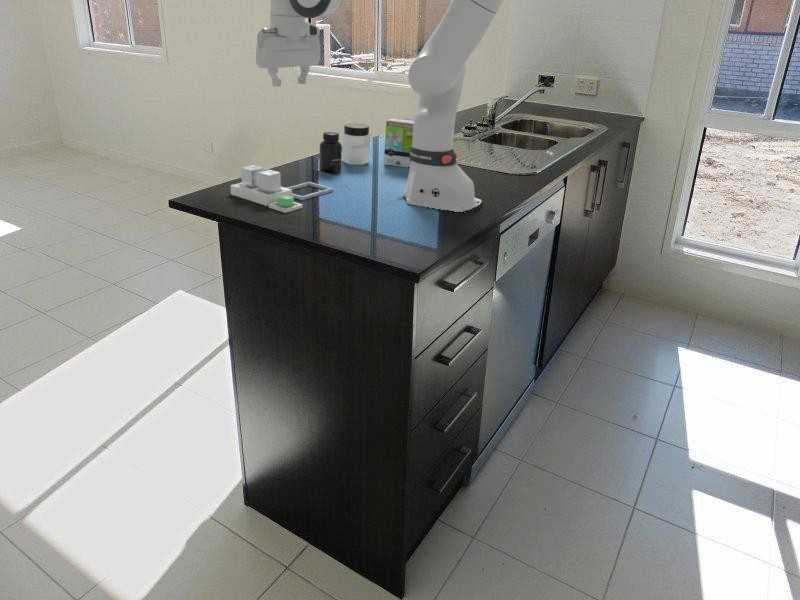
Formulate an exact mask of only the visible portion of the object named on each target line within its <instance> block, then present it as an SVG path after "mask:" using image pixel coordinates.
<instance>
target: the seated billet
mask: <svg viewBox="0 0 800 600" xmlns="http://www.w3.org/2000/svg"><path fill="white" fill-rule="evenodd" d="M262 171H264V167H261V166H257V165H254V164H252V165H247V166H242V167H240V177H241V183H242V186H243V187H247V188H250V189H255V188H259V182H258V172H262Z"/></svg>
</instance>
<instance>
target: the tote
mask: <svg viewBox="0 0 800 600" xmlns="http://www.w3.org/2000/svg"><path fill="white" fill-rule="evenodd" d="M308 186H310V187H315V188H318V189H321V190H319V191H316V192H312V193H309V194H305V195H299V194H295V193H293V192H292V197H293V198H294V199H297V200H300V201H304V200H309V199H312V198H315V197H318V196H322V195H325V194H330V193H333V192H334V188H333V187H330V186H326V185H323V184H319V183H315V182H312V181H307V182H304V183H299V184H296V185H292V186H287V187H286V188H288V189H291V190H292V191H293V190H298V189H301V188H305V187H308Z"/></svg>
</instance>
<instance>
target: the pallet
mask: <svg viewBox="0 0 800 600" xmlns="http://www.w3.org/2000/svg"><path fill="white" fill-rule="evenodd" d="M229 187H230V195H232V196H235V197H238V198H241V199H244V200H248V201H250V202H254V203H256V204H259V205H262V206H265V207H267V206H268V207H269V204H271V203H275V202H278V200H277V198H278V197H279V196H292V193H293V190H291V189H288V188H287V187H284V186H281V192H277V193H274V194H270V195H269V194H266V193H263V192H259V188H255V189H250V188H247V187H243V186H242V182H238V183H235V184H234V183H233V184H230V186H229Z"/></svg>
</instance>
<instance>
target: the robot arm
mask: <svg viewBox="0 0 800 600" xmlns="http://www.w3.org/2000/svg"><path fill="white" fill-rule="evenodd" d="M503 1H504V0H451V2H450V3H449V5H448V7H447V10H446V11H445V13H444V14H443V16H442V18H441V20H440V22H439V23H438V25H437V26H436V28H435V29H434V31H432V34H431V35H430V36H429V37H428V39H427V41H426V42H425V44H424V45H423V47H422V49H421V50H420V52H419V53H418V55H417V56H416V57H415V59H414V60H413V62H412V63H411V64H410V66H409V68H408V75H407V76H408V77H407V78H408V83H409V85H410V87H411V89H412V90H413V92H415V93H416V94H417V95H420V96H419V99H418V105H417V107H416V111H415V113H414V116H413V119H414V126H413V140H412V145H411V148H410V168H409V171H408V176H407V180H406V184H405V187H404V191H403V196H402V197H403V198H404V199H405V200H406V203H407V204H409V205H413V206H417V207H422V206H423V207H422V208H427V207H429V209H432V208H436V209H435V210H437V209H441V210H440V211H442V210H449V211H454V212H463V211H466V210H470V209H472V208H474V207H477V206H478V205H480V204H481V202H483V201H482V199H480V198H477V197H475V196H476V195H475V185H474V182H473V180H472V179H471V178H470V177H469V175H467V173H465V172H464V170H463V169H462V168H461V167H460V166H459V164H458V163H457V159H458V158H460V155H461V153H460V152H459V153H455V151H454V148H453V145H454V144H453V143H454V133H455V125H456V117H457V112H458V107H459V103H460V99H461V95H462V90H463V89H462V88H463V83H464V79H465V76H466V70H467V69H466V62H467V60H468V59H469V58H470V56H471V55H472V53H473V52H474V51H475V49H476V48H477V46H479V44H480V43H481V41H482V39H483V38H484V36H485V34H486V32H487V31H488V28H489V27H490V25H491V23H492V22H493V20H494V18H495V17H496V15H497V13H498V12H499V9H500V7H501V6H502V4H503ZM342 3H343V0H270V10H269V22H270V28H266V27H265V28H261V30H260V31H259V32H258V33H257V34H256V35H257V41H256V51H255V62H256V63H255V64H256V65H257V67H258V68H260V69H264V70H265V69H266V70H267V71H268V75H269V76H270V78H271V81H272V83H271V85H272V86H273V87H275V88H278V87H281V86H282V79H281V78H279V77H278V73H279V69H282V68H295V67H297V68H298V67H299V70H300V73H299V74H300V75H299V76H297V83H298V84H299V85H305V84H307V77H308V75H309V71H310V66H318V65H319V63H320V59H321V48H320V47H321V45H320V40H319V37H318V36H320V28H319V27H318V26H317V25H314V24H313V23H310V22H309V21H307V20H306V19H313V18H317V17H323V16H329V15H332V14H333V13H335V12H337V11H338V9H339V8H340V7H341V6H342ZM477 202H479V203H477Z"/></svg>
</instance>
